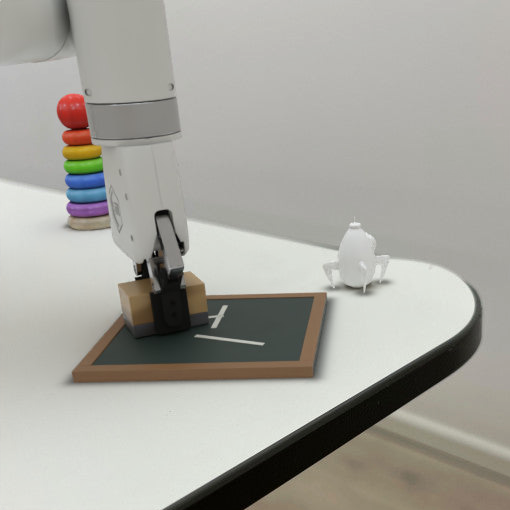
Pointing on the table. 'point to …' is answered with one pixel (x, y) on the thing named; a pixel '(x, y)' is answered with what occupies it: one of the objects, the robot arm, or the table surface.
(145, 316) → the eraser
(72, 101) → the stacking toy
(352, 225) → the rocket toy
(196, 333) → the chalkboard
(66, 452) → the table surface
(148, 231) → the robot arm
